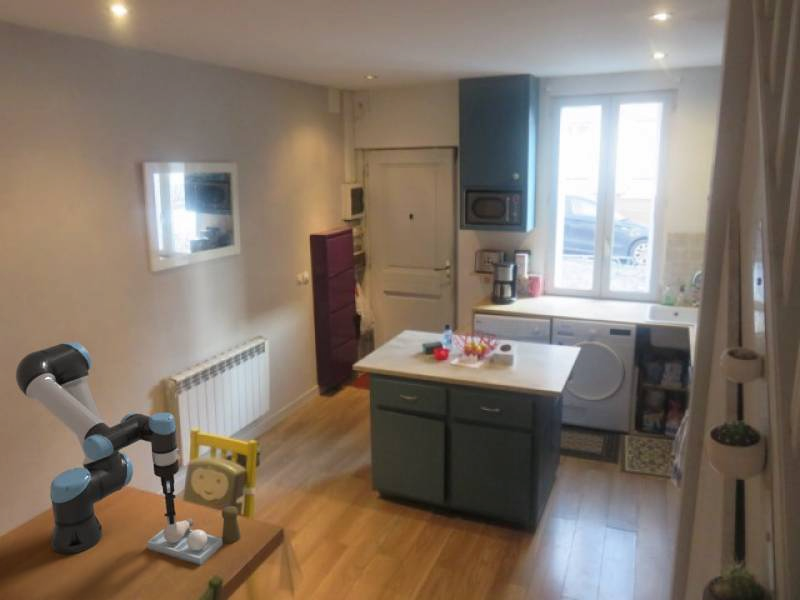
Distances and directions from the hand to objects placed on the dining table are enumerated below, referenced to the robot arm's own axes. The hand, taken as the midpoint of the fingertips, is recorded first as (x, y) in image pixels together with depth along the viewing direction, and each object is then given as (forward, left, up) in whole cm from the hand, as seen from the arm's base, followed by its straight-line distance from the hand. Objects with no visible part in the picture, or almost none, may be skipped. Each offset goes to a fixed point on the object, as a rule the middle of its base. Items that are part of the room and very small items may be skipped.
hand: (171, 524), depth 203 cm
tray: (+5, 0, -7) cm, 9 cm away
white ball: (+10, 0, -6) cm, 12 cm away
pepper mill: (+16, +10, -7) cm, 20 cm away
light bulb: (+1, +3, -5) cm, 6 cm away
